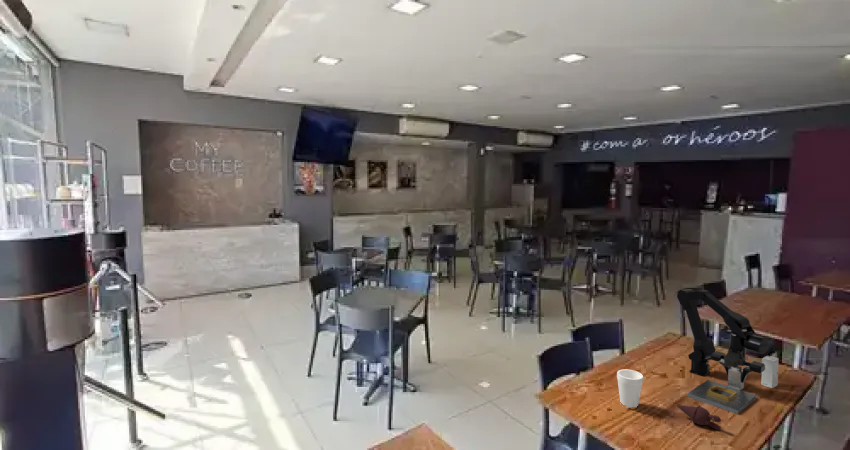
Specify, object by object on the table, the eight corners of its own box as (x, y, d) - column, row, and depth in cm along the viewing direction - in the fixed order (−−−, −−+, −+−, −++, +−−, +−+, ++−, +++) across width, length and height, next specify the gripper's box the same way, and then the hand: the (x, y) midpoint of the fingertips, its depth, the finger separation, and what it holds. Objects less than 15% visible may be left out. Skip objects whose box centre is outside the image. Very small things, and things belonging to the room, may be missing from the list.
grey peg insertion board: (687, 396, 184) (687, 390, 183) (707, 383, 195) (708, 377, 195) (737, 414, 169) (737, 407, 169) (756, 398, 181) (756, 392, 181)
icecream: (672, 402, 166) (716, 423, 154) (681, 392, 170) (725, 411, 158) (672, 417, 168) (716, 438, 156) (681, 407, 172) (724, 426, 160)
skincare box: (772, 388, 189) (774, 361, 188) (760, 384, 193) (761, 358, 192) (778, 384, 193) (779, 358, 192) (765, 381, 196) (767, 355, 195)
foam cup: (631, 413, 171) (632, 381, 170) (611, 403, 179) (612, 372, 178) (647, 407, 175) (648, 376, 174) (627, 397, 183) (627, 367, 182)
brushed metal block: (727, 386, 192) (728, 365, 191) (731, 384, 194) (732, 363, 193) (739, 390, 188) (740, 369, 187) (743, 387, 191) (744, 366, 190)
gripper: (705, 343, 192) (704, 378, 194) (757, 357, 177) (754, 394, 179) (716, 338, 199) (714, 371, 200) (766, 350, 184) (764, 386, 185)
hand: (736, 380), depth 191 cm, fingers closed on brushed metal block, 4 cm apart
